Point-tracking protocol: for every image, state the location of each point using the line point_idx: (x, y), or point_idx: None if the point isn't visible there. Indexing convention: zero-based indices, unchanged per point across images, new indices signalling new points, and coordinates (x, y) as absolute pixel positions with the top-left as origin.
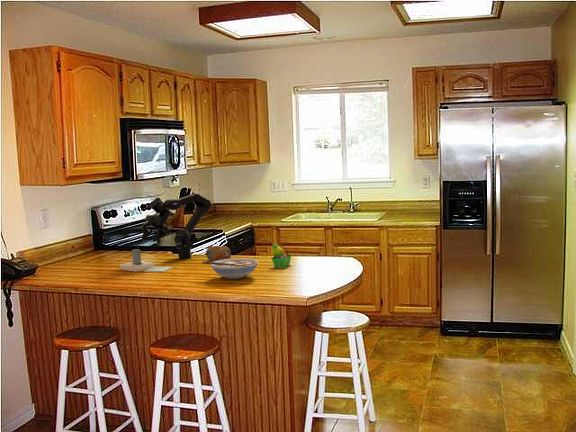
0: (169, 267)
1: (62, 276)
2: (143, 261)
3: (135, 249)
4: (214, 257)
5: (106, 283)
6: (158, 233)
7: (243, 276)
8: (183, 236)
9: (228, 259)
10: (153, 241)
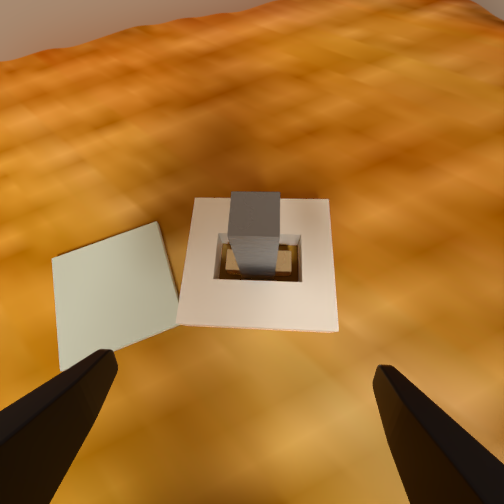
0: (68, 342)
1: (397, 49)
2: (282, 327)
3: (275, 221)
4: None
5: (153, 62)
6: None
7: None
8: None
9: None
10: (100, 360)
